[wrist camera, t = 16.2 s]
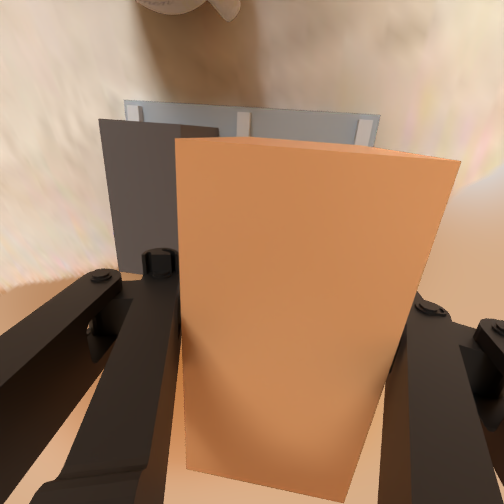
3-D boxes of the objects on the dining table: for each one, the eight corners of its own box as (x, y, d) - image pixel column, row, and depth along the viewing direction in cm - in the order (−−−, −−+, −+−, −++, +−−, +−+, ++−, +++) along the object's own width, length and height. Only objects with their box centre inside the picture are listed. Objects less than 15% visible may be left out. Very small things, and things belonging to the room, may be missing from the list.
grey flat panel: (129, 100, 29) (119, 98, 28) (377, 115, 27) (382, 114, 25) (142, 243, 36) (135, 248, 34) (345, 267, 33) (347, 274, 31)
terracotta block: (322, 330, 19) (343, 503, 10) (237, 317, 20) (186, 469, 11) (360, 145, 15) (461, 161, 6) (247, 136, 15) (174, 138, 6)
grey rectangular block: (161, 123, 29) (98, 118, 20) (218, 127, 28) (180, 124, 19) (167, 234, 34) (119, 271, 24) (216, 239, 33) (185, 280, 24)
